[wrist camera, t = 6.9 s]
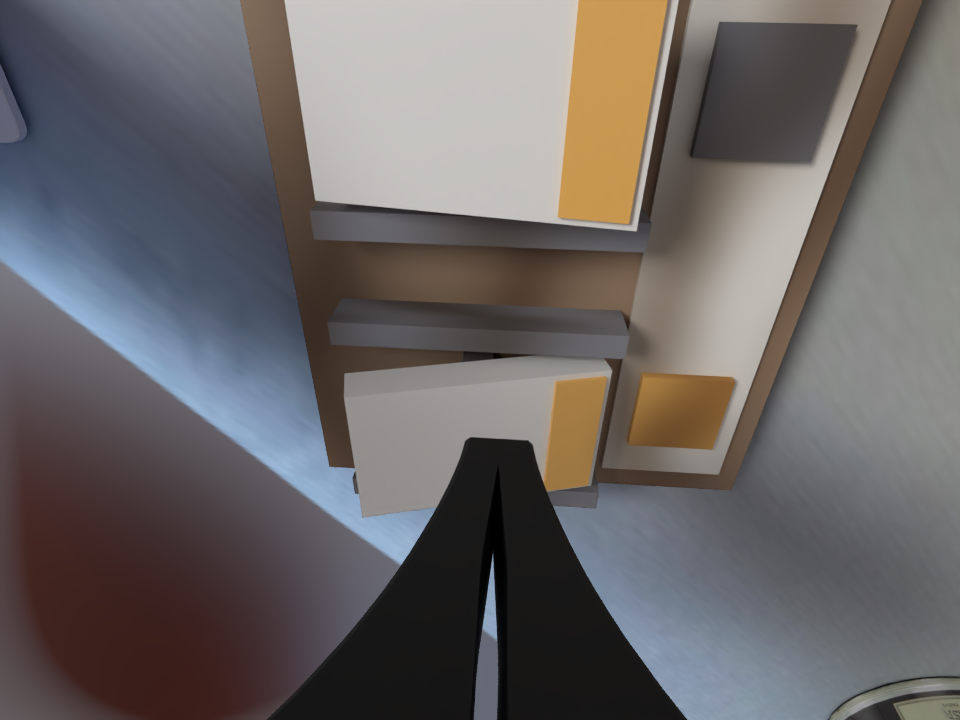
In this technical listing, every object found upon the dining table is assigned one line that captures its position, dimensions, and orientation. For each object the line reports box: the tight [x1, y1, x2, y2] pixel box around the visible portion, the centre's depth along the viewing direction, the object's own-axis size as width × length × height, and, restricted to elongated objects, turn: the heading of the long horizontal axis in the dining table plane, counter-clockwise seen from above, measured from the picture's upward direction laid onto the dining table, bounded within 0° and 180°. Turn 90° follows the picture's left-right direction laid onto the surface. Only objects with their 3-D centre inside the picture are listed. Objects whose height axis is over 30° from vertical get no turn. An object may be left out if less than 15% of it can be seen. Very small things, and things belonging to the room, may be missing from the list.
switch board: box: [240, 0, 923, 508], centre depth 14 cm, size 16×28×3 cm, turn 179°
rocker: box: [344, 355, 612, 517], centre depth 18 cm, size 8×5×1 cm, turn 89°
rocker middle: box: [284, 0, 679, 231], centre depth 12 cm, size 8×5×1 cm, turn 89°
